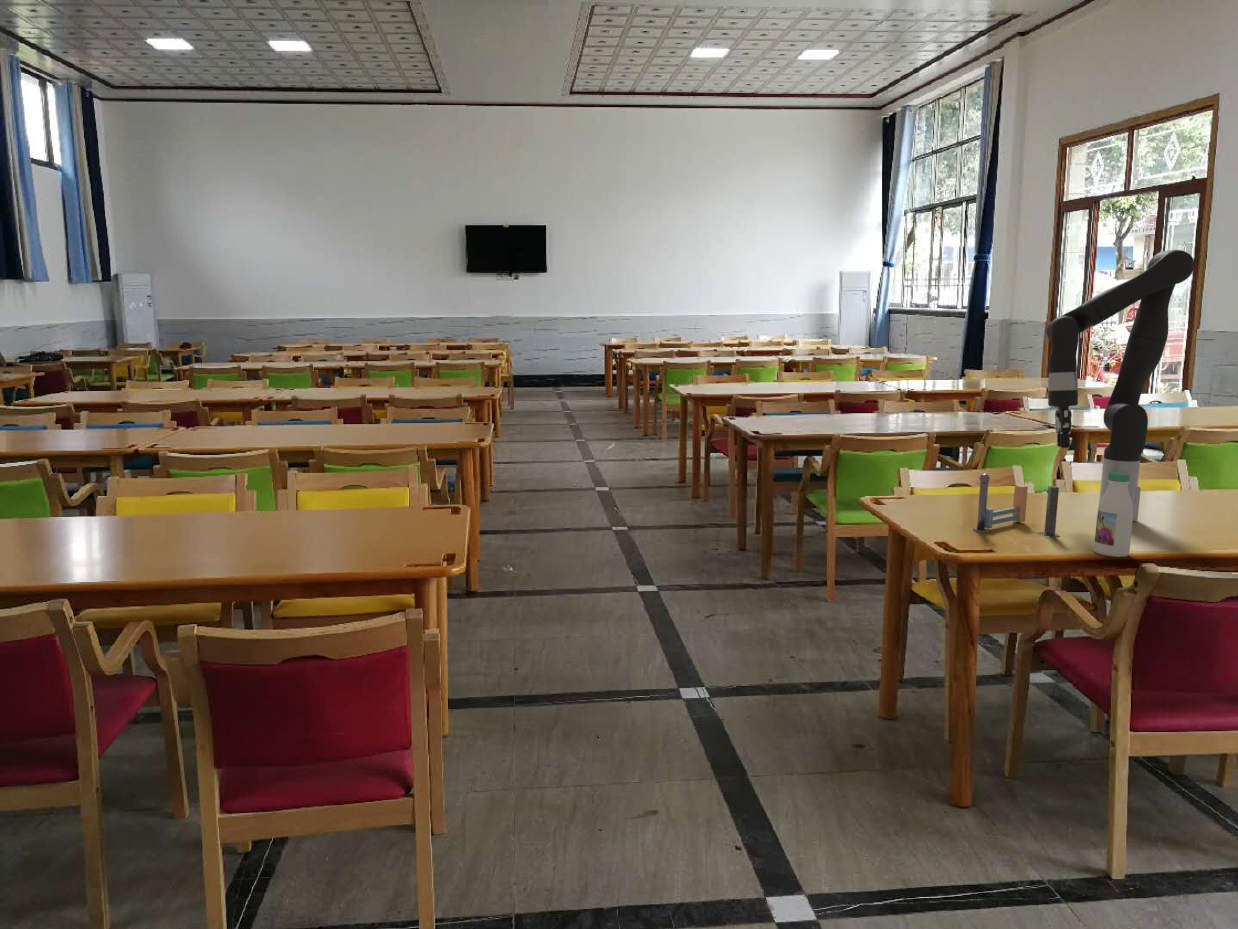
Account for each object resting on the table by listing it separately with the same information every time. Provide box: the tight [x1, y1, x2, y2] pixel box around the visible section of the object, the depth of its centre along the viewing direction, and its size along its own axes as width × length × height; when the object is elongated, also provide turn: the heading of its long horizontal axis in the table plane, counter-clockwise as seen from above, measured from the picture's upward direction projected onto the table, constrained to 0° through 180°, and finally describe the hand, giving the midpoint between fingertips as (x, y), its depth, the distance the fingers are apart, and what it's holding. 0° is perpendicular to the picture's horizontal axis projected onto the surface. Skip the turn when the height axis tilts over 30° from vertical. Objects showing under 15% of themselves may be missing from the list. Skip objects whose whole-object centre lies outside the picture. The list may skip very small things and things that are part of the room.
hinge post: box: [972, 473, 991, 534], centre depth 254 cm, size 4×4×16 cm
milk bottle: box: [1093, 472, 1134, 558], centre depth 231 cm, size 8×8×20 cm
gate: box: [985, 484, 1029, 530], centre depth 260 cm, size 16×2×10 cm, turn 124°
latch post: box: [1038, 485, 1061, 538], centre depth 250 cm, size 4×4×13 cm
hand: (1063, 447), depth 265 cm, fingers open, 8 cm apart
